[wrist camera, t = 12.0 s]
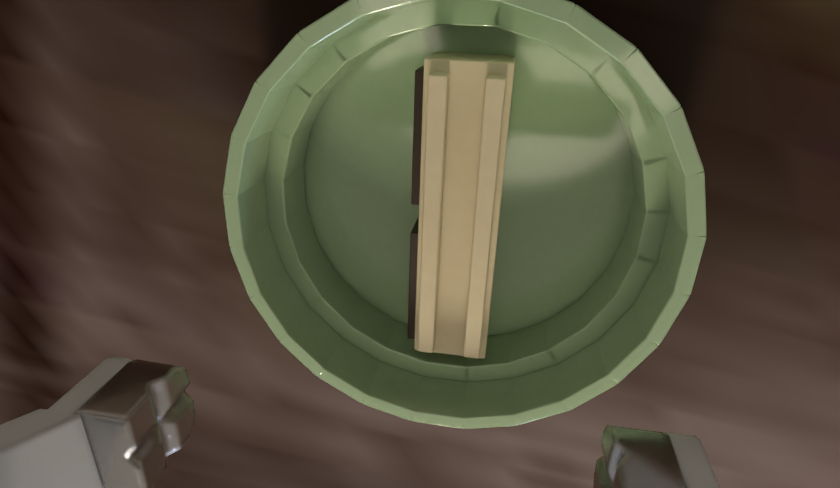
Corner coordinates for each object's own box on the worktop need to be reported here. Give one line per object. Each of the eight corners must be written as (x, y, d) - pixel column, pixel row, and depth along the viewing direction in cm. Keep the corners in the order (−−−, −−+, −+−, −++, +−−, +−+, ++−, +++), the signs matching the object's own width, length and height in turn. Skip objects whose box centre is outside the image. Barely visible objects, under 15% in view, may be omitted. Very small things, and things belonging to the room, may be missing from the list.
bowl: (266, -23, 22) (193, -31, 17) (711, -9, 20) (776, -14, 15) (293, 331, 29) (247, 398, 24) (622, 372, 27) (646, 455, 22)
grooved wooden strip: (426, 51, 22) (410, 59, 18) (515, 55, 21) (515, 64, 18) (416, 316, 27) (403, 358, 24) (488, 325, 26) (484, 369, 23)
